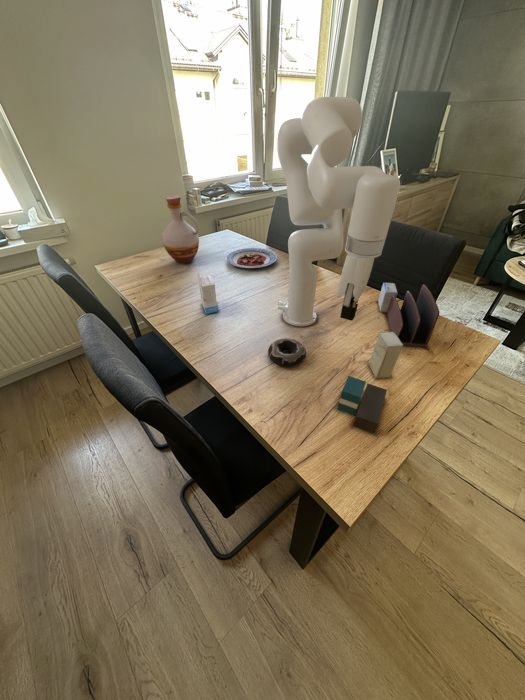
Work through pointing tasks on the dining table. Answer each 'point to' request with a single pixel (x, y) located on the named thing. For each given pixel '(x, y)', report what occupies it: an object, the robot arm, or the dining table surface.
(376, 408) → the dark block
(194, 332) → the dining table surface
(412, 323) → the letter holder
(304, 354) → the donut
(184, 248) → the jug
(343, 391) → the teal carton
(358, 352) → the dining table surface
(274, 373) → the dining table surface
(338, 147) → the robot arm
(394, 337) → the cosmetic box
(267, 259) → the ceramic plate
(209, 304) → the ink box
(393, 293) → the medicine box
